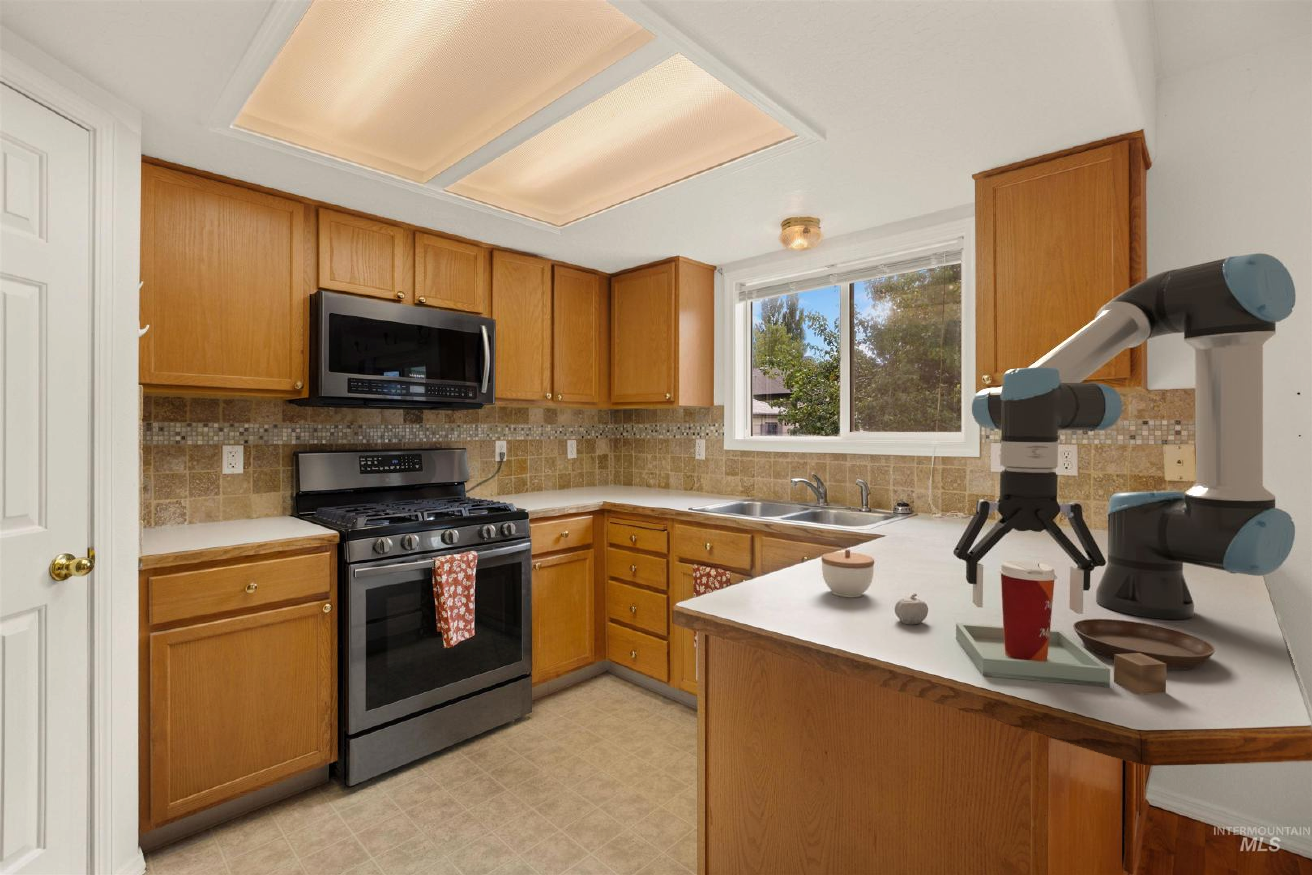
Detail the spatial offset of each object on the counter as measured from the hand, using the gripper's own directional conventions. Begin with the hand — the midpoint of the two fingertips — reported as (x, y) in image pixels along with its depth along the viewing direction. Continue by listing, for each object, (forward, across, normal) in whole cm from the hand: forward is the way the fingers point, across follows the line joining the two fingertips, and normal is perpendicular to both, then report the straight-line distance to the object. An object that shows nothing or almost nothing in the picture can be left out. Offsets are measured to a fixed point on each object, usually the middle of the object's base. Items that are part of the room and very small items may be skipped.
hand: (1025, 608), depth 95 cm
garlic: (+8, -14, +15) cm, 22 cm away
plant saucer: (+8, +19, +8) cm, 22 cm away
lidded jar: (+8, -24, +32) cm, 41 cm away
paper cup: (+8, 0, 0) cm, 8 cm away
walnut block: (+8, +12, -7) cm, 16 cm away
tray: (+8, 0, 0) cm, 8 cm away
